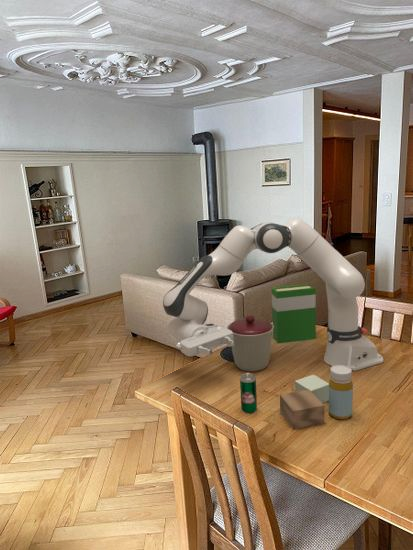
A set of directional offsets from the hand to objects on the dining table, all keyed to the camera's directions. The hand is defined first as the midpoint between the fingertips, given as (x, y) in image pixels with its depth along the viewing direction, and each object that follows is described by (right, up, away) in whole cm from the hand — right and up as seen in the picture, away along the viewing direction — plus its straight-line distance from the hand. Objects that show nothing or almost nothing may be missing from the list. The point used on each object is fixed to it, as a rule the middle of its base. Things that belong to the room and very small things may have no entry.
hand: (221, 348), depth 138 cm
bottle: (+36, -19, -11) cm, 42 cm away
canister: (+13, -12, +25) cm, 31 cm away
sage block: (+30, -17, -1) cm, 35 cm away
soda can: (+9, -19, -5) cm, 22 cm away
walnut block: (+24, -19, -11) cm, 33 cm away
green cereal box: (+35, -5, +50) cm, 61 cm away
